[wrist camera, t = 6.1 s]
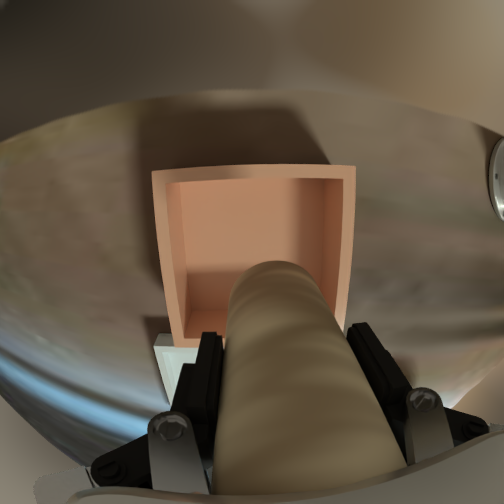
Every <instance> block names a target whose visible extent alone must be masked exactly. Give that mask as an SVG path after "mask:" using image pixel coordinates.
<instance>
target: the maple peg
mask: <svg viewBox="0 0 504 504" xmlns="http://www.w3.org/2000/svg"><path fill="white" fill-rule="evenodd" d="M405 467H408V466H407V464H406V462H405V459H404V457H403V455H402V453H401V450H400V448H399V446H398V444H397V441H396V439H395V437H394V435H393V433H392V431H391V428H390V426H389V424H388V422H387V420H386V418H385V416H384V413H383V411H382V409H381V407H380V405H379V403H378V401H377V399H376V397H375V395H374V393H373V391H372V389H371V387H370V385H369V383H368V381H367V379H366V377H365V375H364V373H363V371H362V369H361V367H360V365H359V363H358V361H357V359H356V357H355V355H354V353H353V351H352V349H351V347H350V345H349V343H348V341H347V339H346V338H345V336H344V334H343V332H342V330H341V328H340V326H339V324H338V322H337V321H336V319H335V317H334V315H333V313H332V311H331V309H330V308H329V306H328V304H327V302H326V300H325V298H324V297H323V295H322V293H321V291H320V289H319V287H318V286H317V284H316V282H315V280H314V279H313V277H312V276H311V275H310V274H309V273H308V272H307V271H306V270H305V269H304V268H302V267H300V266H299V265H296V264H294V263H291V262H288V261H280V260H274V261H266V262H262V263H259V264H256V265H254V266H252V267H251V268H249V269H248V270H246V271H245V272H244V273H243V274H241V275H240V277H239V278H238V279H237V280H236V282H235V283H234V285H233V287H232V289H231V293H230V297H229V305H228V314H227V323H226V332H225V342H224V354H223V363H222V373H221V384H220V394H219V405H218V416H217V426H216V434H215V446H214V458H213V470H212V483H211V495H269V494H283V493H293V492H304V491H317V490H324V489H331V488H336V487H341V486H345V485H349V484H353V483H356V482H359V481H362V480H365V479H369V478H372V477H376V476H379V475H383V474H386V473H390V472H393V471H396V470H399V469H402V468H405Z"/></svg>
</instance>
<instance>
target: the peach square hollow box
mask: <svg viewBox="0 0 504 504" xmlns="http://www.w3.org/2000/svg"><path fill="white" fill-rule="evenodd" d="M355 184H356V166H344V165H317V164H253V165H225V166H207V167H192V168H180V169H169V170H159V171H152V186H153V199H154V211H155V222H156V231H157V240H158V249H159V257H160V264H161V271H162V278H163V285H164V291H165V297H166V303H167V309H168V315H169V320H170V326H171V331H172V336H173V341H174V346H175V347H178V348H199V344H200V340H201V335H202V332H217V335H222V339H223V347H224V342H225V332H226V323H227V314H228V305H229V297H230V293H231V289H232V287H233V285H234V283H235V282H236V280H237V279H238V278H239V277H240V275H241V274H243V273H244V272H245V271H246V270H248V269H249V268H251V267H252V266H254V265H256V264H259V263H262V262H266V261H274V260H280V261H288V262H291V263H294V264H296V265H299V266H300V267H302V268H304V269H305V270H306V271H307V272H308V273H309V274H310V275H311V276H312V277H313V279H314V280H315V282H316V284H317V286H318V287H319V289H320V291H321V293H322V295H323V297H324V298H325V300H326V302H327V304H328V306H329V308H330V309H331V311H332V313H333V315H334V317H335V319H336V321H337V322H338V324H339V326H340V328H341V330H342V332H343V327H344V321H345V313H346V306H347V298H348V290H349V281H350V271H351V260H352V248H353V233H354V215H355Z"/></svg>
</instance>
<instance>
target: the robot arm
mask: <svg viewBox="0 0 504 504" xmlns="http://www.w3.org/2000/svg"><path fill="white" fill-rule="evenodd" d="M489 189H490V196H491V201H492V204H493V207H494V210H495V212H496V214H497V216H498V217H499V218H500V220H502V221H503V222H504V138H502V139H500V140H499V141H498V142H497V144H496V146H495V147H494V150H493V152H492V156H491V160H490V167H489ZM346 339H347V341H348V343H349V345H350V347H351V349H352V351H353V353H354V355H355V357H356V359H357V361H358V363H359V365H360V367H361V369H362V371H363V373H364V375H365V377H366V379H367V381H368V383H369V385H370V387H371V389H372V391H373V393H374V395H375V397H376V399H377V401H378V403H379V405H380V407H381V409H382V411H383V413H384V416H385V418H386V420H387V422H388V424H389V426H390V428H391V431H392V433H393V435H394V437H395V439H396V441H397V444H398V446H399V448H400V450H401V453H402V455H403V457H404V459H405V462H406V464H407V466H408V467H405V468H402V469H399V470H396V471H393V472H390V473H386V474H383V475H379V476H376V477H372V478H369V479H365V480H362V481H359V482H356V483H353V484H349V485H345V486H341V487H336V488H331V489H324V490H317V491H304V492H293V493H283V494H269V495H211V483H210V480H209V476H208V473H207V469H208V468H210V467H211V466H213V458H214V446H215V434H216V426H217V416H218V405H219V394H220V384H221V373H222V363H223V354H224V349H223V339H222V335H217V332H202V335H201V340H200V344H199V348H198V353H197V357H196V362H195V363H183V365H182V368H181V372H180V375H179V379H178V383H177V386H176V390H175V394H174V398H173V401H172V405H171V409H170V411H166V412H161V413H159V414H157V415H155V416H154V417H153V418H152V419H151V420H150V422H149V423H148V428H147V432H148V433H147V434H145V435H143V436H141V437H139V438H137V439H135V440H133V441H131V442H129V443H127V444H125V445H123V446H121V447H119V448H117V449H115V450H113V451H110V452H108V453H106V454H104V455H101V456H100V457H98V458H97V459H95V461H94V462H93V463H92V465H91V467H88V468H85V467H84V466H81V467H77V468H74V469H70V470H67V471H63V472H59V473H54V474H50V475H46V476H42V477H40V478H38V479H37V481H35V484H34V494H35V497H36V501H37V504H504V425H499V424H492V423H490V424H489V425H487V424H486V422H485V421H484V420H483V419H481V418H479V417H476V416H473V415H469V414H466V413H462V412H459V411H456V410H452V409H449V408H446V407H443V403H442V400H441V398H440V396H439V395H438V394H437V393H436V392H435V391H434V390H432V389H429V388H425V387H419V388H415V389H413V388H412V387H411V385H410V384H409V382H408V381H407V379H406V377H405V376H404V374H403V373H402V371H401V370H400V368H399V367H398V365H397V364H396V362H395V361H394V359H393V358H392V356H391V354H390V353H389V352H388V351H387V350H385V349H384V347H383V346H382V344H381V343H380V341H379V340H378V338H377V337H376V335H375V334H374V332H373V331H372V329H371V328H370V326H369V325H368V323H367V322H363V323H354V324H353V325H352V327H349V328H348V331H347V337H346Z"/></svg>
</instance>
